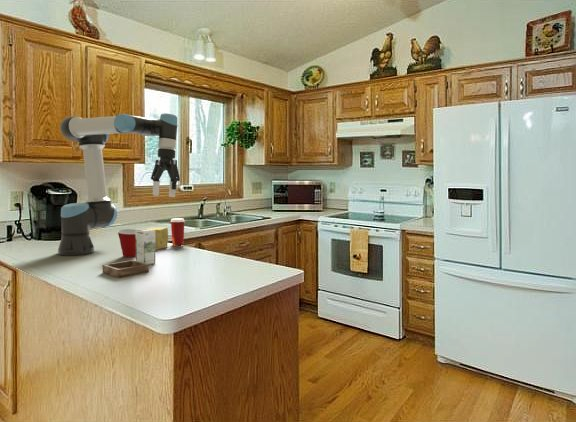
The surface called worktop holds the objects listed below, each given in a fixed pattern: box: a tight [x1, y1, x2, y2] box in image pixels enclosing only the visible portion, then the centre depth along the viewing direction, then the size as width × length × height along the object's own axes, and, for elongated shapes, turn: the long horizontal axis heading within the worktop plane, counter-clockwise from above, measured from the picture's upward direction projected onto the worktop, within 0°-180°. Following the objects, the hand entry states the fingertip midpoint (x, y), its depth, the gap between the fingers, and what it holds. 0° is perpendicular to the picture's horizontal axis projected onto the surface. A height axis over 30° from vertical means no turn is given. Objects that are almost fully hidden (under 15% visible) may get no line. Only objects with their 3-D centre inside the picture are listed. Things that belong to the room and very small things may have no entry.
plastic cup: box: [116, 228, 137, 258], centre depth 181 cm, size 11×11×12 cm
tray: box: [101, 259, 150, 279], centre depth 151 cm, size 12×12×3 cm
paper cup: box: [170, 217, 186, 247], centre depth 214 cm, size 8×8×14 cm
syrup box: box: [135, 228, 156, 266], centre depth 165 cm, size 6×6×14 cm
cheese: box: [140, 227, 169, 250], centre depth 205 cm, size 10×11×10 cm
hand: (163, 196), depth 179 cm, fingers open, 13 cm apart
